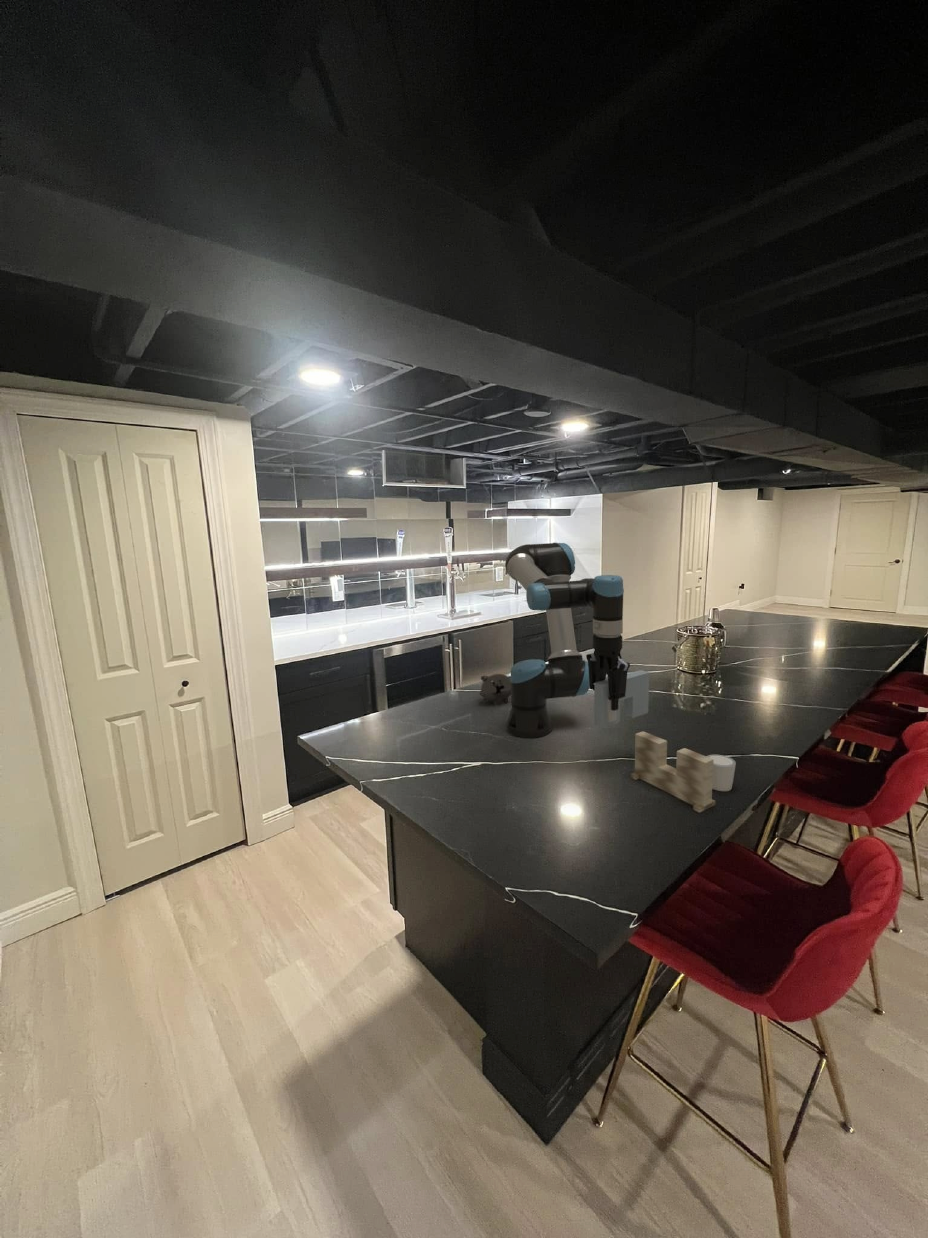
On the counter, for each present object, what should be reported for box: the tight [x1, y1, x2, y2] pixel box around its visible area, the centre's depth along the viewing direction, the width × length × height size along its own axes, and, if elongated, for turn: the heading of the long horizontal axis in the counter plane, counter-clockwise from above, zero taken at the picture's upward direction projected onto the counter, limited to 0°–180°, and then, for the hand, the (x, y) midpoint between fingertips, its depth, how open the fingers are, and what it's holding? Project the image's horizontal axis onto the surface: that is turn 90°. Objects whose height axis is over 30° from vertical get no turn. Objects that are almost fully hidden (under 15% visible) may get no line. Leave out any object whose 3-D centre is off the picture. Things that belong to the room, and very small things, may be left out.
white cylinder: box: [706, 753, 737, 792], centre depth 122 cm, size 7×7×7 cm
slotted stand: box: [630, 730, 716, 814], centre depth 120 cm, size 20×6×12 cm, turn 30°
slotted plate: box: [593, 669, 650, 729], centre depth 132 cm, size 18×3×12 cm, turn 120°
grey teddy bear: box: [479, 673, 511, 706], centre depth 189 cm, size 11×15×12 cm
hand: (606, 718), depth 130 cm, fingers closed on slotted plate, 3 cm apart
